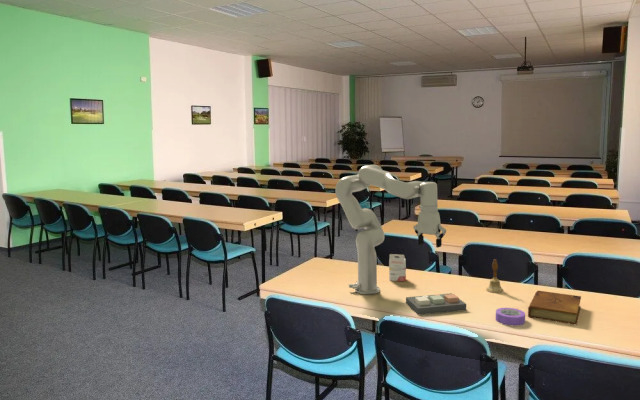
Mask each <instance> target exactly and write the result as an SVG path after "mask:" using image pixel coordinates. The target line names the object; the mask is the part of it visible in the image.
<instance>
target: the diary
mask: <svg viewBox="0 0 640 400" xmlns="http://www.w3.org/2000/svg"><path fill="white" fill-rule="evenodd" d="M581 299H582V296H581V295H572V294H566V293H559V292H551V291H546V290H545V291H544V290H537V291H536V292H535V293H534V295H533V298H532V299H531V301H530V303H529V306H528V310H527V316H528V318H532V319H538V320H544V321H545V320H546V321H551V322H556V321H557V323H563V324H568V323H570V324H569V325H574V324H576V325H578V321H577V320H578V319H579V315H580V311H581V306H580V303H581ZM576 325H575V326H576Z"/></svg>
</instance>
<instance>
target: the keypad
mask: <svg viewBox="0 0 640 400" xmlns="http://www.w3.org/2000/svg"><path fill="white" fill-rule="evenodd" d="M448 294H453V293H451V292H450V293H440V294H439V293H438V294H431V295H429V294H428V295H427V294H426V295H417V296H416V295H415V296H406V297H405V304H406V305H407V306H408V307H409V308H410V309H411V310H412V311H413V312H414V313H415V314H416V315H418V316H419V315H429V314H440V313H442V314H443V313H452V312H463V311H467V303H466V302H464V301H463V300H462V299H460V298H459V302H454V303H447V302H446V301H445V300H444V303H443V304H432V303H431V302H430V305H421V306H418V305H417V304H416V303H415V297H427V298H428V299H429V298H430V296H436V295H440V296H441V297H443V298H444V295H448Z"/></svg>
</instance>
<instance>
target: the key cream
mask: <svg viewBox="0 0 640 400" xmlns="http://www.w3.org/2000/svg"><path fill="white" fill-rule="evenodd" d="M414 297H415V296H414ZM415 303H416V304H417V305H418V306H421V305H430V300H429V299H428V298H427V297H415Z"/></svg>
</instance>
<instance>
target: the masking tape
mask: <svg viewBox="0 0 640 400" xmlns="http://www.w3.org/2000/svg"><path fill="white" fill-rule="evenodd" d="M495 321H496V322H497V323H499V324H501V323H502V324H501V325H505V324H506V325H505V326H510V325H513V327H514V326H515V327H516V326H518V325H519V326H522V325H524V324H525V323H526V313H525V311H523V310H521V309H518V308H514V307H513V308H512V307H499V308H497V309H496V310H495Z"/></svg>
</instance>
